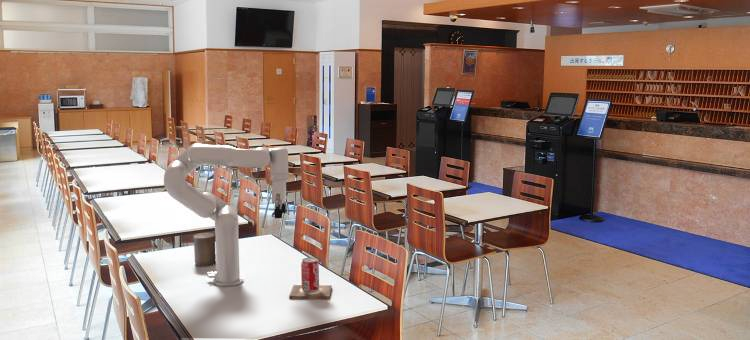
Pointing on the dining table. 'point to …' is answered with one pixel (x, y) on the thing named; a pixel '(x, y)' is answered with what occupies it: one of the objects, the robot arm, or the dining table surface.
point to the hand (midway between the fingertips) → (280, 215)
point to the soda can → (310, 274)
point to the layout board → (319, 294)
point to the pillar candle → (204, 249)
